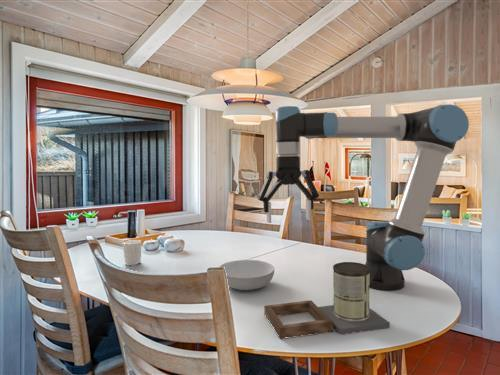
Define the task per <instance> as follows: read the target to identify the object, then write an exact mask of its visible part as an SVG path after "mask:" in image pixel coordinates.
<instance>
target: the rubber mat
mask: <svg viewBox="0 0 500 375" xmlns="http://www.w3.org/2000/svg"><path fill="white" fill-rule="evenodd" d="M318 307H319V308H320V309H321V310H322V311H323V312H324V313H325V314H326V315H327V316H328V317H329V318H330V319H331V320H332V321H333V328H334V329H335V330H336V331H337V332H338V333H339V334H342V335H346V334H345V333H349V334H353V333H352V332H356V333H361V332H360V331H363V332H369V331H368V330H370V331H376V330H375V329H377V330H383V329H390V322H389V321H388V320H387V319H385V318H384V317H382V316H381V315H380V314H378V313H377V312H376V311H374V310H373V309H372V308H370V307H369V315H370V316H369V318H368V319H367V320H364V321H359V322H351V321H345V320H342V319H339V318H337V317H336V316H335V315H334V313H333V311H334V304H333V305H332V304H331V305H324V306H318ZM334 329H333V330H334ZM335 330H334V331H335ZM336 331H335V332H336ZM337 332H336V333H337ZM338 333H337V334H338ZM339 334H338V335H339Z"/></svg>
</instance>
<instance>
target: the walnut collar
mask: <svg viewBox="0 0 500 375" xmlns="http://www.w3.org/2000/svg"><path fill="white" fill-rule="evenodd" d="M319 307H320V306H318V305H316V303H315V302H313V300H302V301H292V302H286V303H285V302H284V303H277V304H275V303H274V304H268V305H267V304H266V305H264V308H263V309H264V313H263V314H264V316H265V315H266V317H267V318H268V320H269V321H270V323H271V324H272V326H273V327H274V329H275V331H276V332H277V334H278V335H279V337H280V338H285V337H292V338H294V337H293V336H300V337H302V336H301V335H307V336H309V335H308V334H314V335H316V334H315V333H321V334H323V333H322V332H328V333H331V332H330V331H333V332H334V329H333V321H332V320H331V319H330V318H329V317H328V316H327V315H326V314H325V313H324V312H323V311H322V310H321V309H320V308H319ZM297 313H298V314H304V313H309V315H310V316H313V317H314V318H315V319H316V320H317V321H316V320H315V319H314V318H313V317H312V318H313V319H314V320H313V321H304V322H296V323H287V324H284V323H283V321H281V319H280V317H279V316H277V315H282V316H287V315H286V314H290V315H296V314H297ZM266 317H265V318H266ZM267 318H266V319H267ZM268 320H267V321H268ZM269 321H268V322H269ZM270 323H269V324H270ZM271 324H270V325H271ZM272 326H271V327H272ZM273 327H272V328H273ZM274 329H273V330H274ZM275 331H274V332H275ZM276 332H275V333H276ZM277 334H276V335H277ZM278 335H277V336H278ZM279 337H278V338H279ZM280 338H279V339H280ZM285 339H286V338H285Z"/></svg>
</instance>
